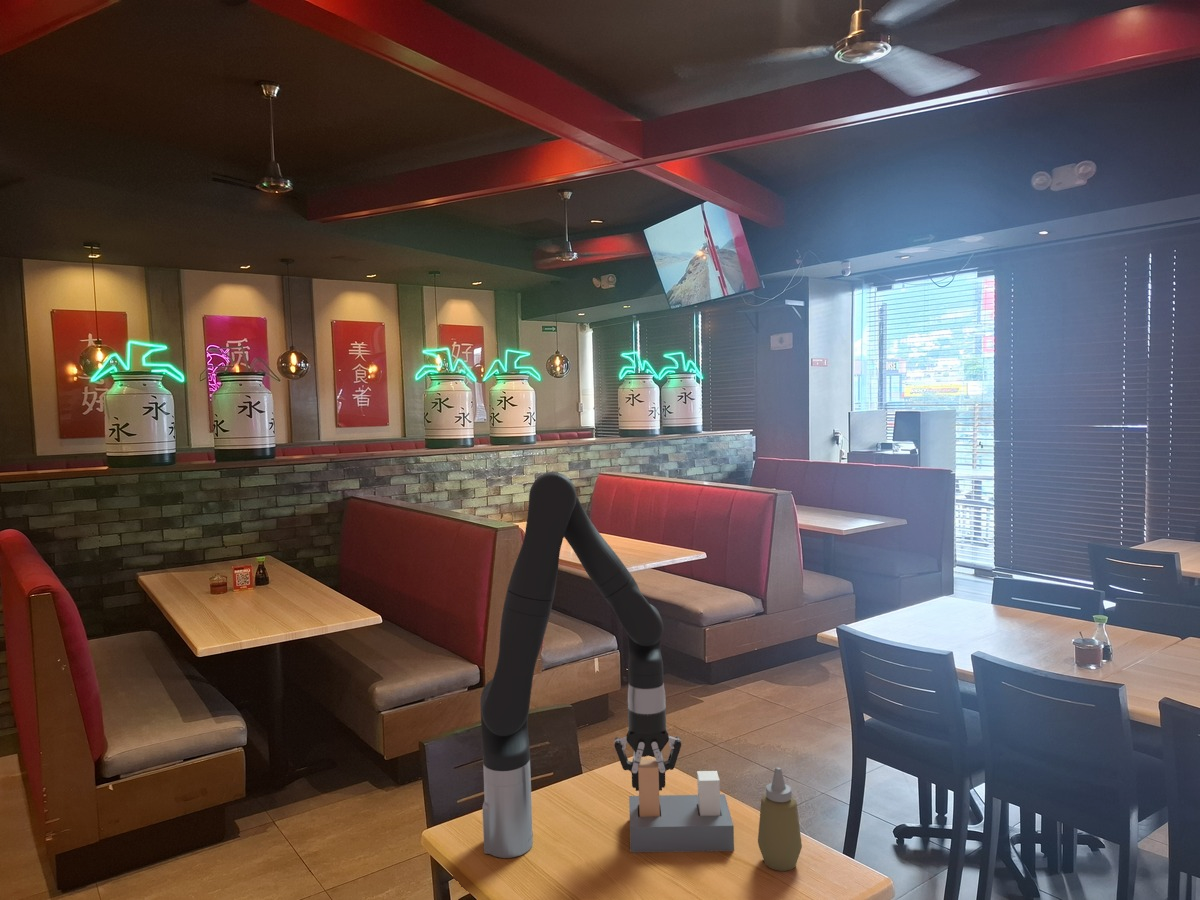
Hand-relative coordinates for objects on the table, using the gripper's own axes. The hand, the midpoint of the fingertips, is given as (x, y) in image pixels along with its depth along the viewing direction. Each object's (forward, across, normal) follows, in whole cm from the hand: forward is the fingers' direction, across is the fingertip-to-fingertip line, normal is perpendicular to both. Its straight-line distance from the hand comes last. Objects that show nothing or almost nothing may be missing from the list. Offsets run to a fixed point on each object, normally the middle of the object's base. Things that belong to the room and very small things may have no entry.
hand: (648, 788), depth 152 cm
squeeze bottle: (+10, +24, -10) cm, 28 cm away
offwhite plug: (+10, +12, 0) cm, 15 cm away
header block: (+10, +6, 0) cm, 11 cm away
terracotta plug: (+7, 0, 0) cm, 7 cm away
